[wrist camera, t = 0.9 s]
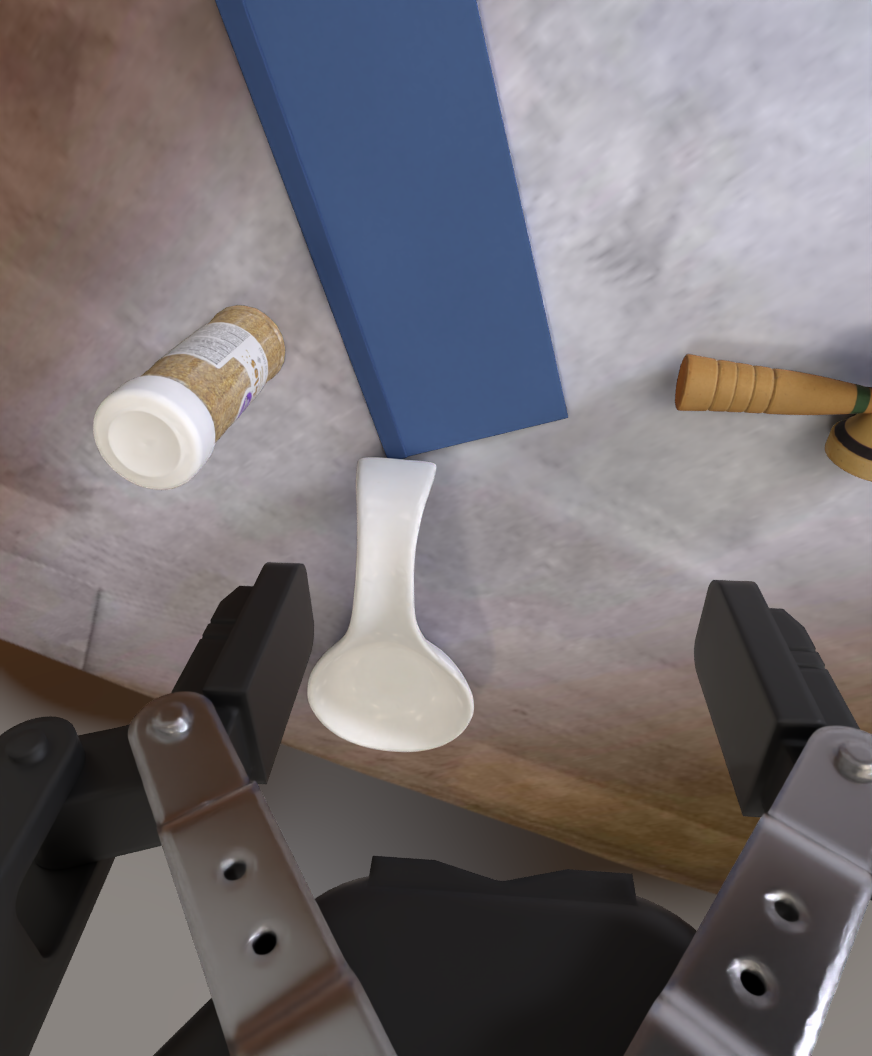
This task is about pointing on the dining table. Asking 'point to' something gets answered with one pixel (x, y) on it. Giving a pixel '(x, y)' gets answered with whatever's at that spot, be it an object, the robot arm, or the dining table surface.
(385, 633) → the spoon rest
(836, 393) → the kendama
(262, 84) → the blue flat rectangular slab
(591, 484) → the dining table surface
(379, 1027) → the robot arm
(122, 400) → the spice jar
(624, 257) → the dining table surface
